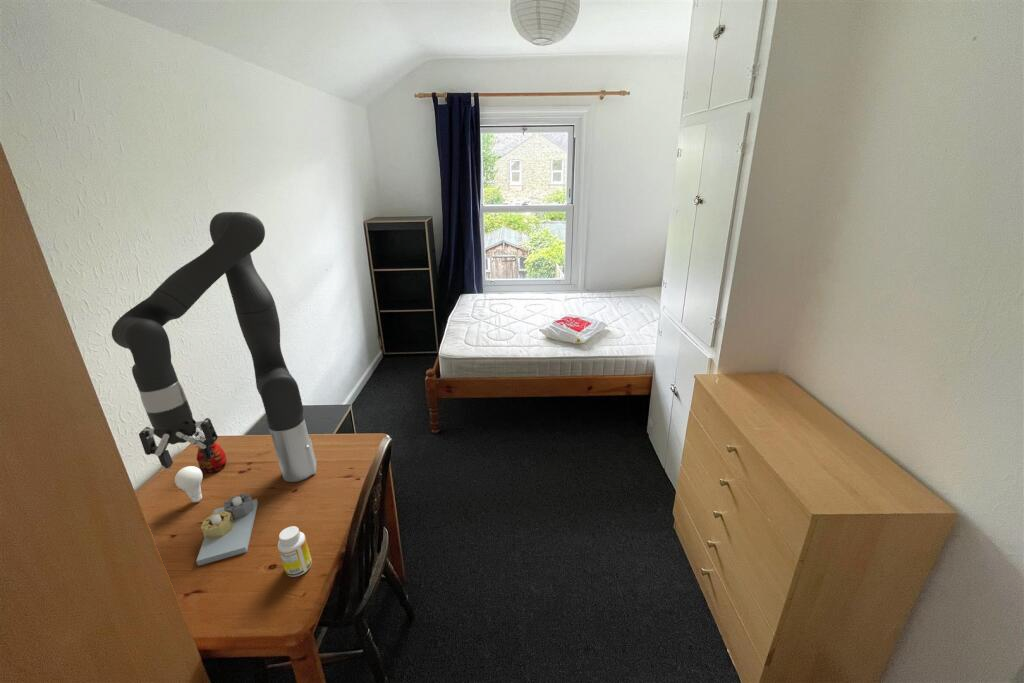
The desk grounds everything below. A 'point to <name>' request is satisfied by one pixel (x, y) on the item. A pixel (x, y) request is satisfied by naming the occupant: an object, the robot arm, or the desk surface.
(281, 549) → the supplement bottle
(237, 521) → the gear board
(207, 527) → the brass gear
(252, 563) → the desk surface
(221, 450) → the red clay folk toy
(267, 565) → the desk surface
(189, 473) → the lightbulb
